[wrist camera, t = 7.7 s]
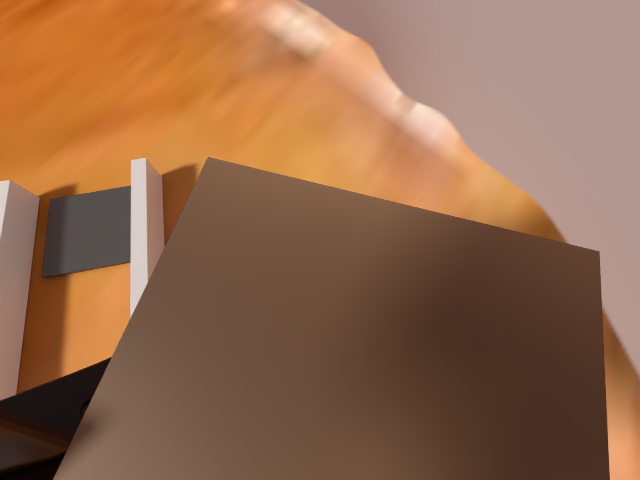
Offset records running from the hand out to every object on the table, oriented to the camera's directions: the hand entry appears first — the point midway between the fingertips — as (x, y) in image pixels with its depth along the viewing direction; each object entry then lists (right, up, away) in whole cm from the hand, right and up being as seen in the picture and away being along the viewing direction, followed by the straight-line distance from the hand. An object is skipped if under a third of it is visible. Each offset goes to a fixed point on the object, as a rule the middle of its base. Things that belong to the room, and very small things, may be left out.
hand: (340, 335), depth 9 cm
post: (0, -4, +6) cm, 7 cm away
